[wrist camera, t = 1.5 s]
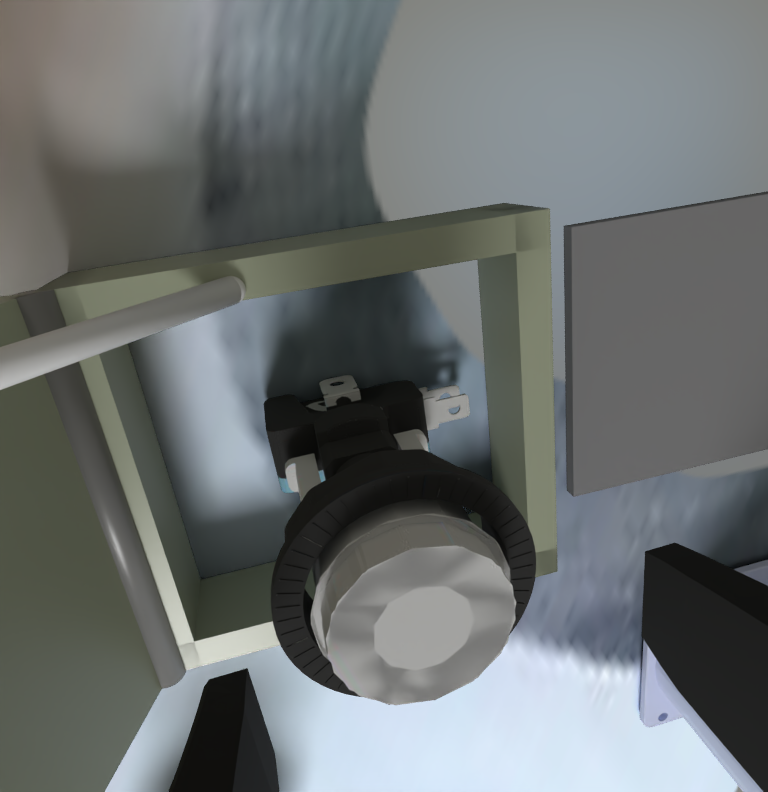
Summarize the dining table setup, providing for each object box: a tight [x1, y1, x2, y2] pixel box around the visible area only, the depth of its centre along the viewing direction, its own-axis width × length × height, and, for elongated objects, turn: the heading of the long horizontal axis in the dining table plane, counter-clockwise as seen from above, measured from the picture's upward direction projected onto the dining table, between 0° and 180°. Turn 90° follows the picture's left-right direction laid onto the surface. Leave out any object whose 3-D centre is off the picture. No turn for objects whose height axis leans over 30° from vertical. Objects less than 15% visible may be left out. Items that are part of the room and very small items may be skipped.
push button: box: [264, 375, 536, 705], centre depth 15 cm, size 7×5×10 cm
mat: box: [564, 192, 768, 497], centre depth 21 cm, size 9×10×1 cm
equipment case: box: [0, 203, 557, 792], centre depth 12 cm, size 18×12×15 cm, turn 98°
